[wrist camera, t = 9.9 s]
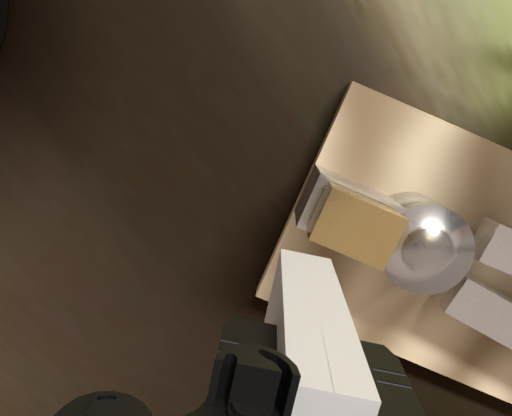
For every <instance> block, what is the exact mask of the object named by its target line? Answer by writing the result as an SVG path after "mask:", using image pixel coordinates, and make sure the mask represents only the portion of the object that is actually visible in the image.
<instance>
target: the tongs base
mask: <svg viewBox="0 0 512 416" xmlns="http://www.w3.org/2000/svg"><path fill="white" fill-rule="evenodd" d="M328 181H329V182H332V183H334V184H336V185H339V186H341V187H343V188H346V189H348V190H350V191H353V192H355V193H357V194H360V195H362V196H364V197H367V198H369V199H371V200H374V201H376V202H378V203H381V204H383V205H385V206H388V207H390V208H392V209H395V210H397V211H399V212H400V213H401V214H402V215H403V216H405V217H406V218H407V219H408V220H409V222H408V224H407V226H406V228H405V230H404V232H403V234H402V236H401V238H400V240H399V242H398V244H397V245H396V247H395V249H394V251H393V253H392V255H391V257H390V259H389V261H388V263H387V265H386V267H385V269H384V271H385V273H386V274H387V276H388V277H389V278H390V280H391V281H392V282H393V283H394V284H395V285H397V286H398V287H400V288H401V289H403V290H405V291H407V292H410V293H413V294H418V295H432V294H437V293H441V292H444V291H446V290H448V289H450V288H452V287H454V286H455V285H456V284H458V283H459V282H460V281H461V280H462V279H463V278H464V277H465V276H466V274H467V273H468V271H469V270H470V268H471V266H472V263H473V260H474V258H475V259H476V260H478V261H479V262H482V263H484V264H486V265H489V266H491V267H493V268H496V269H498V270H500V271H503V272H505V273H507V274H510V275H512V228H511V227H509V226H507V225H504V224H502V223H500V222H497V221H495V220H493V219H490V218H488V217H486V216H484V218H483V220H482V222H481V224H480V225H479V227H478V229H477V231H476V233H475V235H474V236H473V233H472V231H471V229H470V227H469V225H468V224H467V223H466V221H465V220H464V219H463V218H462V217H461V216H459V215H458V214H457V213H455V212H453V211H452V210H450V209H448V208H447V207H445V206H443V205H441V204H440V203H438V202H436V201H435V200H433V199H431V198H430V197H428V196H426V195H423V194H421V193H417V192H400V193H396V194H393V195H391V196H389V195H387V194H384V193H382V192H380V191H377V190H375V189H373V188H370V187H368V186H366V185H363V184H361V183H359V182H356V181H354V180H352V179H349V178H347V177H345V176H342V175H340V174H338V173H335V172H333V171H331V170H328V169H326V168H324V167H321V166H319V165H317V164H315V166H314V168H313V170H312V172H311V174H310V177H309V179H308V181H307V183H306V186H305V188H304V190H303V192H302V194H301V197H300V199H299V201H298V203H297V206H296V208H295V220H296V227H297V228H300V229H302V230H304V231H307V226H308V224H309V222H310V220H311V218H312V216H313V213H314V211H315V209H316V207H317V205H318V203H319V200H320V198H321V196H322V194H323V192H324V190H325V187H326V185H327V183H328Z"/></svg>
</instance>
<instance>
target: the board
mask: <svg viewBox="0 0 512 416" xmlns="http://www.w3.org/2000/svg"><path fill="white" fill-rule="evenodd" d="M315 164H317V165H319V166H321V167H324V168H326V169H328V170H331V171H333V172H335V173H338V174H340V175H342V176H345V177H347V178H349V179H352V180H354V181H356V182H359V183H361V184H363V185H366V186H368V187H370V188H373V189H375V190H377V191H380V192H382V193H384V194H387V195H389V196H391V195H393V194H396V193H400V192H417V193H421V194H423V195H426V196H428V197H430V198H431V199H433V200H435V201H436V202H438V203H440V204H441V205H443V206H445V207H447V208H448V209H450V210H452V211H453V212H455V213H457V214H458V215H459V216H461V217H462V218H463V219H464V220H465V221H466V223H467V224H468V225H469V227H470V229H471V231H472V233H473V236H474V235H475V233H476V231H477V229H478V227H479V225H480V224H481V222H482V220H483V218H484V216H486V217H488V218H490V219H493V220H495V221H497V222H500V223H502V224H504V225H507V226H509V227H511V228H512V150H510V149H508V148H506V147H503V146H501V145H499V144H496V143H494V142H492V141H489V140H487V139H485V138H483V137H480V136H478V135H476V134H473V133H471V132H469V131H466V130H464V129H462V128H460V127H457V126H455V125H453V124H450V123H448V122H446V121H443V120H441V119H439V118H437V117H434V116H432V115H430V114H427V113H425V112H423V111H420V110H418V109H416V108H414V107H411V106H409V105H407V104H404V103H402V102H400V101H397V100H395V99H393V98H391V97H388V96H386V95H384V94H381V93H379V92H377V91H374V90H372V89H370V88H368V87H365V86H363V85H361V84H358V83H356V82H354V81H352V82H349V84H348V86H347V89H346V91H345V93H344V95H343V98H342V100H341V102H340V104H339V106H338V109H337V111H336V113H335V115H334V118H333V120H332V122H331V124H330V126H329V129H328V131H327V133H326V135H325V138H324V140H323V142H322V144H321V146H320V149H319V151H318V153H317V155H316V158H315V160H314V162H313V164H312V167H311V169H310V171H309V173H308V175H307V178H306V180H305V182H304V184H303V187H302V189H301V191H300V193H299V195H298V198H297V200H296V202H295V204H294V207H293V209H292V211H291V213H290V215H289V218H288V220H287V222H286V224H285V227H284V229H283V231H282V233H281V235H280V238H279V240H278V242H277V244H276V247H275V249H274V251H273V253H272V255H271V258H270V260H269V262H268V264H267V267H266V269H265V271H264V273H263V275H262V278H261V280H260V282H259V284H258V287H257V290H256V297H258V298H261V299H263V300H266V301H268V302H269V298H270V294H271V289H272V285H273V281H274V276H275V272H276V267H277V263H278V258H279V254H280V250H281V249H285V250H290V251H295V252H300V253H304V254H309V255H314V256H319V257H324V258H329V259H331V261H332V264H333V267H334V269H335V272H336V275H337V278H338V281H339V284H340V286H341V289H342V292H343V295H344V298H345V301H346V303H347V306H348V309H349V312H350V315H351V318H352V320H353V323H354V326H355V329H356V332H357V334H358V337H359V340H362V341H366V342H371V343H376V344H381V345H385V346H386V347H387V348H388V349H389V350H390V351H391V352H392V353H393V354H394V355H396V356H399V357H401V358H404V359H406V360H408V361H411V362H413V363H415V364H418V365H420V366H423V367H425V368H427V369H430V370H432V371H435V372H437V373H439V374H442V375H444V376H446V377H449V378H451V379H454V380H456V381H458V382H461V383H463V384H465V385H468V386H470V387H473V388H475V389H477V390H480V391H482V392H484V393H487V394H489V395H492V396H494V397H496V398H499V399H501V400H504V401H506V402H508V403H511V404H512V350H511V349H509V348H508V347H506V346H504V345H502V344H500V343H499V342H497V341H495V340H493V339H491V338H490V337H488V336H486V335H484V334H482V333H481V332H479V331H477V330H475V329H473V328H472V327H470V326H468V325H466V324H464V323H463V322H461V321H459V320H457V319H455V318H454V317H452V316H450V315H448V314H446V313H445V312H444V311H443V310H442V309H441V308H440V306H439V305H438V304H437V303H436V301H435V300H434V298H435V296H436V295H437V294H432V295H418V294H413V293H410V292H407V291H405V290H403V289H401V288H400V287H398V286H397V285H395V284H394V283H393V282H392V281H391V280H390V278H389V277H388V276H387V274H386V273H385V271H381V270H379V269H376V268H374V267H372V266H369V265H367V264H365V263H362V262H360V261H358V260H355V259H353V258H351V257H348V256H346V255H344V254H341V253H339V252H336V251H334V250H332V249H329V248H327V247H325V246H322V245H320V244H318V243H315V242H313V241H311V240H309V239H308V234H307V231H304V230H302V229H300V228H297V227H296V220H295V208H296V206H297V203H298V201H299V199H300V197H301V194H302V192H303V190H304V188H305V186H306V183H307V181H308V179H309V177H310V174H311V172H312V170H313V168H314V166H315ZM467 274H468V275H470V276H472V277H473V278H475V279H477V280H479V281H481V282H482V283H484V284H486V285H488V286H489V287H491V288H493V289H495V290H497V291H498V292H500V293H502V294H504V295H505V296H507V297H509V298H511V299H512V275H510V274H507V273H505V272H503V271H500V270H498V269H496V268H493V267H491V266H489V265H486V264H484V263H482V262H479V261H478V260H476V259H475V258H474V260H473V263H472V266H471V268H470V270H469V271H468V273H467Z"/></svg>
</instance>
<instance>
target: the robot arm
mask: <svg viewBox="0 0 512 416" xmlns="http://www.w3.org/2000/svg"><path fill="white" fill-rule="evenodd" d="M7 16H8V0H0V48H1V45H2V42H3V38H4V34H5V30H6V24H7ZM411 387H412V385H411V383H410V381H409V379H408V377H407V376H406V373H405V371H404V369H403V367H402V365H401V362H400V360H399V359H398V358H397V357H396V356H395V355H394V354H393V353H392V352H391V351H390V350H389V349H388V348H387V347H386V346H385V345H381V344H376V343H371V342H366V341H362V340H359V337H358V334H357V332H356V329H355V326H354V323H353V320H352V318H351V315H350V312H349V309H348V306H347V303H346V301H345V298H344V295H343V292H342V289H341V286H340V284H339V281H338V278H337V275H336V272H335V269H334V267H333V264H332V261H331V259H329V258H324V257H319V256H314V255H309V254H304V253H300V252H295V251H290V250H285V249H281V250H280V254H279V258H278V263H277V267H276V272H275V276H274V281H273V285H272V289H271V294H270V298H269V303H268V307H267V312H266V316H265V320H264V322H259V321H254V320H249V319H244V318H239V317H233V318H232V319H231V320H230V321H228V322H227V323H226V324H225V325H223V330H222V334H221V339H220V343H219V348H218V353H217V356H216V358H215V361H214V366H213V371H212V376H211V381H210V386H209V391H208V396H207V399H206V401H205V402H204V403H203V404H202V405H201V406H200V407H199V408H198V409H196V410H195V411H193V412H191V413H189V414H186V415H183V416H426V415H425V413H424V411H423V409H422V406H421V404H420V402H419V400H418V398H417V396H416V394H415V392H414V390H413V389H411ZM54 416H152V413H151V411H150V410H149V409H148V408H147V406H146V405H145V404H144V402H142V401H140V400H138V399H137V398H135V397H133V396H131V395H129V394H124V393H120V392H115V391H103V392H93V393H90V394H86V395H83V396H79V397H78V398H76V399H74V400H73V401H71V402H70V403H68V404H66V405H65V406H64V407H63V408H61V409H60V410H59V411H58V412H57V413H56V414H55V415H54Z"/></svg>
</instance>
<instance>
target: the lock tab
mask: <svg viewBox="0 0 512 416" xmlns="http://www.w3.org/2000/svg"><path fill="white" fill-rule="evenodd" d="M408 222H409V220H408V219H407V218H406V217H405V216H403V215H402V214H401V213H400V212H399V211H397V210H395V209H392V208H390V207H388V206H385V205H383V204H381V203H378V202H376V201H374V200H371V199H369V198H367V197H364V196H362V195H360V194H357V193H355V192H353V191H350V190H348V189H346V188H343V187H341V186H339V185H336V184H334V183H332V182H329V181H328V183H327V185H326V187H325V190H324V192H323V194H322V196H321V198H320V200H319V203H318V205H317V207H316V209H315V211H314V213H313V216H312V218H311V220H310V222H309V224H308V226H307V234H308V239H309V240H311V241H313V242H315V243H318V244H320V245H322V246H325V247H327V248H329V249H332V250H334V251H336V252H339V253H341V254H344V255H346V256H348V257H351V258H353V259H355V260H358V261H360V262H362V263H365V264H367V265H369V266H372V267H374V268H376V269H379V270H381V271H384V269H385V267H386V265H387V263H388V261H389V259H390V257H391V255H392V253H393V251H394V249H395V247H396V245H397V244H398V242H399V240H400V238H401V236H402V234H403V232H404V230H405V228H406V226H407V224H408Z"/></svg>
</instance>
